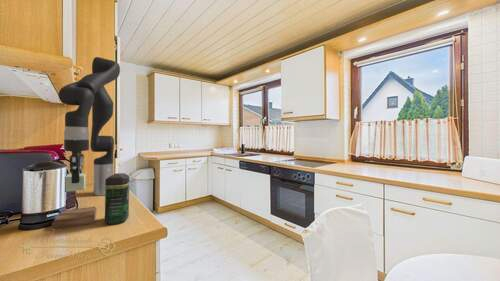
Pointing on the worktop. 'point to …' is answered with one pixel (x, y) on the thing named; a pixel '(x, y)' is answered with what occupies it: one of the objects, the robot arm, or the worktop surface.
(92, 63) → the robot arm
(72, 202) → the supplement box
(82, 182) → the sage cube
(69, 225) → the walnut base
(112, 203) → the coffee jar
